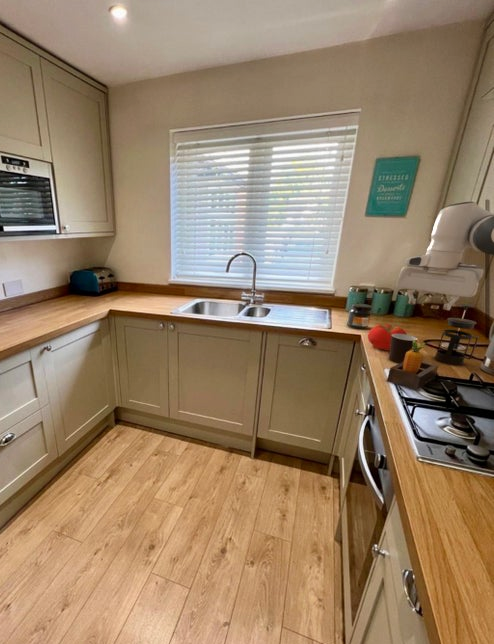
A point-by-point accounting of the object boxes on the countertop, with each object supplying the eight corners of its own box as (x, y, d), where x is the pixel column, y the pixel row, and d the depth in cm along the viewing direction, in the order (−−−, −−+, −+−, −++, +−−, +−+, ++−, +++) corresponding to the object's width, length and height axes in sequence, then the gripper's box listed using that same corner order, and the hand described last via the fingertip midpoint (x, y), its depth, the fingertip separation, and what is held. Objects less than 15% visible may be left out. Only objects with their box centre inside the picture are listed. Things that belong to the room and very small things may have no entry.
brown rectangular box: (434, 378, 116) (438, 365, 114) (416, 391, 107) (420, 377, 105) (406, 370, 123) (409, 358, 121) (386, 381, 113) (390, 367, 112)
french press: (429, 359, 134) (446, 303, 126) (435, 354, 140) (452, 301, 132) (465, 368, 126) (486, 309, 118) (470, 363, 132) (491, 306, 124)
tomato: (407, 348, 147) (413, 326, 144) (397, 356, 136) (403, 333, 133) (373, 340, 157) (377, 320, 153) (360, 347, 146) (365, 326, 142)
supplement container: (367, 330, 172) (372, 308, 168) (345, 327, 177) (349, 305, 173) (368, 326, 180) (373, 304, 176) (347, 323, 185) (351, 302, 181)
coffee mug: (398, 365, 127) (405, 341, 124) (380, 357, 135) (386, 334, 131) (421, 363, 130) (429, 339, 127) (402, 355, 138) (408, 332, 135)
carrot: (414, 381, 113) (427, 340, 108) (415, 387, 109) (428, 344, 104) (397, 378, 116) (409, 337, 111) (398, 383, 112) (409, 341, 107)
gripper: (489, 264, 93) (472, 312, 98) (408, 258, 108) (397, 299, 113) (483, 265, 89) (466, 315, 94) (400, 258, 104) (389, 301, 109)
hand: (428, 306), depth 104 cm, fingers open, 8 cm apart
